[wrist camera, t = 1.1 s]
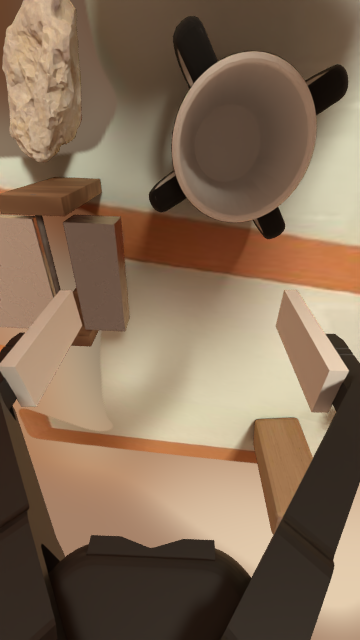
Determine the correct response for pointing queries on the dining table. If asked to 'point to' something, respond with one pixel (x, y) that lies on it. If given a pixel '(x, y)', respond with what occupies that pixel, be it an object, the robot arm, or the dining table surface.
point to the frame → (53, 201)
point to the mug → (242, 131)
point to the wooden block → (280, 462)
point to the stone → (43, 77)
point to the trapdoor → (87, 262)
